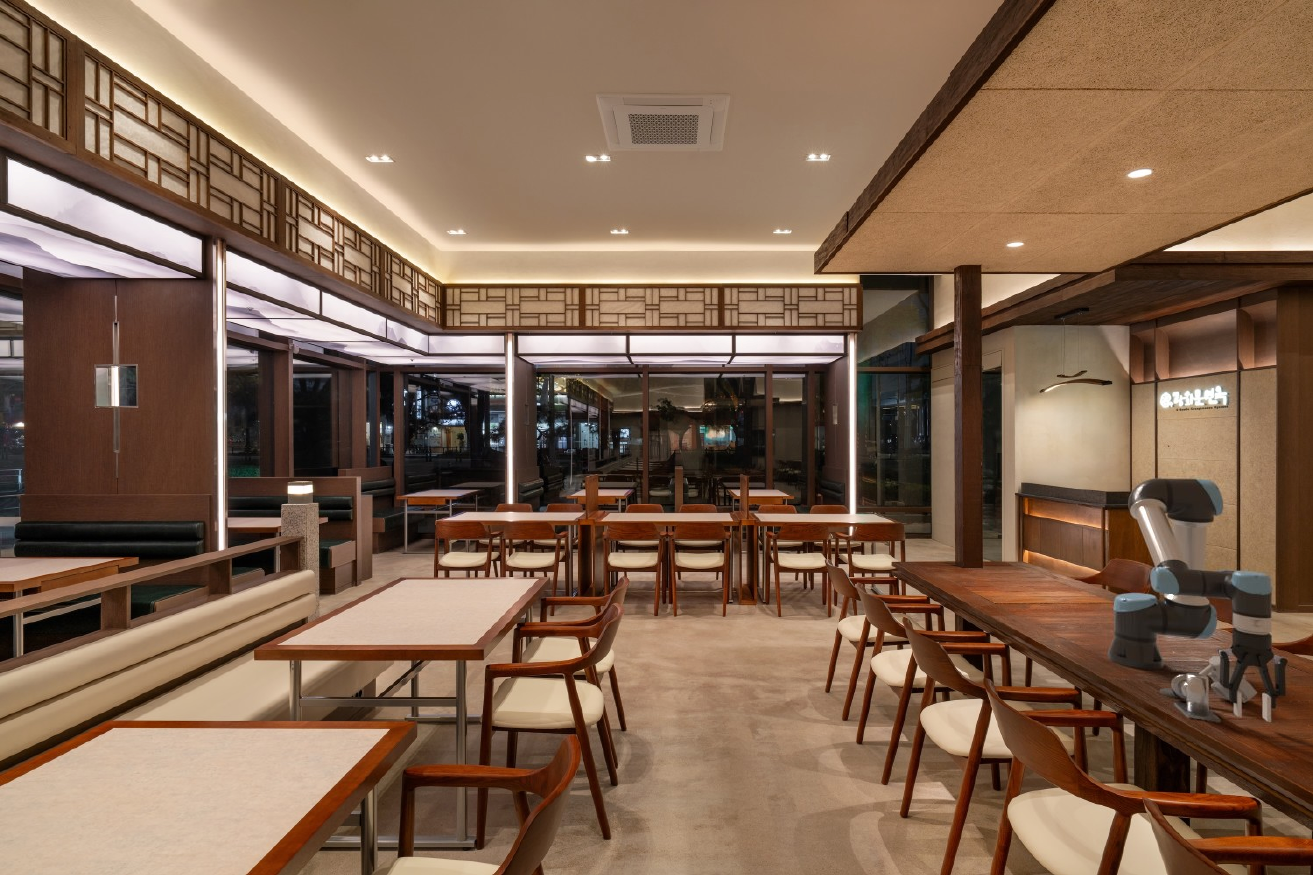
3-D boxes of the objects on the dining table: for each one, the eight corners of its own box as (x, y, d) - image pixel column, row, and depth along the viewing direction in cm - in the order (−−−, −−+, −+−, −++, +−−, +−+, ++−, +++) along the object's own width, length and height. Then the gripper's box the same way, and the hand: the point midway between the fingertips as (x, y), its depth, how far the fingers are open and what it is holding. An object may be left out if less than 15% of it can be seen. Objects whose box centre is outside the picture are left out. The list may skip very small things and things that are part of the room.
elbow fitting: (1170, 702, 178) (1170, 664, 178) (1200, 706, 175) (1200, 668, 175) (1188, 719, 167) (1188, 679, 167) (1220, 723, 165) (1220, 682, 165)
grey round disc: (1157, 690, 187) (1157, 687, 187) (1181, 693, 185) (1181, 690, 185) (1163, 697, 182) (1163, 694, 182) (1188, 701, 179) (1188, 698, 179)
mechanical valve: (1266, 699, 174) (1236, 659, 174) (1217, 737, 174) (1187, 698, 174) (1231, 682, 185) (1202, 645, 184) (1185, 719, 185) (1156, 682, 184)
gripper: (1212, 629, 163) (1213, 716, 163) (1305, 639, 155) (1306, 730, 155) (1202, 622, 169) (1202, 705, 169) (1290, 631, 161) (1291, 718, 161)
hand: (1252, 717), depth 162 cm, fingers open, 5 cm apart
